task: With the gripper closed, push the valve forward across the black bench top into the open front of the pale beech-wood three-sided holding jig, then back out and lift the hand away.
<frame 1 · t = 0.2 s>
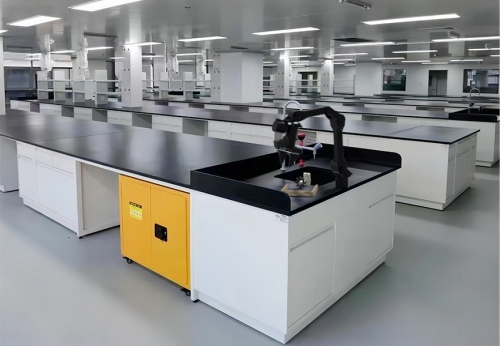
hand: (285, 165, 217), 15 cm above the countertop, tool pointing down, fingers open, 9 cm apart
holding jig: (299, 192, 226), on the countertop
valve: (304, 186, 240), on the countertop
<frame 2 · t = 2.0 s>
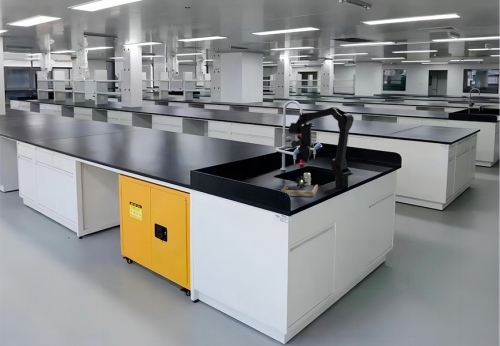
hand: (306, 162, 246), 12 cm above the countertop, tool pointing down, fingers open, 4 cm apart
nothing on the countertop moved.
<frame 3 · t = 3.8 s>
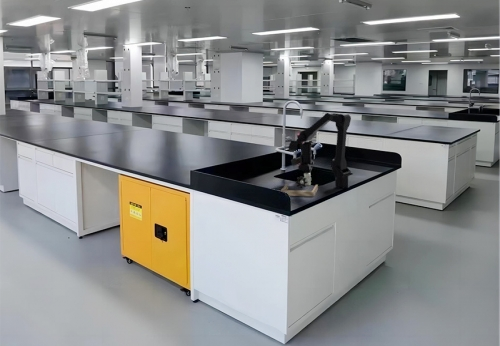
hand: (306, 179, 247), 2 cm above the countertop, tool pointing down, fingers closed
valve: (305, 186, 240), on the countertop, touching gripper
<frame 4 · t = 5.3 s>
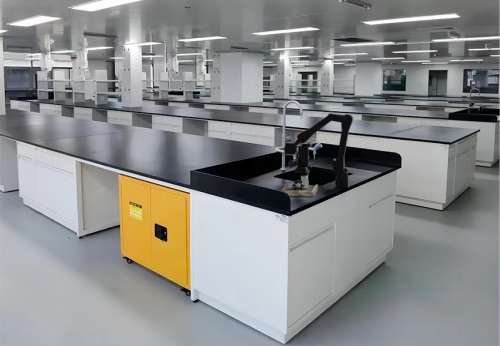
hand: (303, 182, 239), 2 cm above the countertop, tool pointing down, fingers closed
valve: (302, 189, 232), on the countertop, touching gripper
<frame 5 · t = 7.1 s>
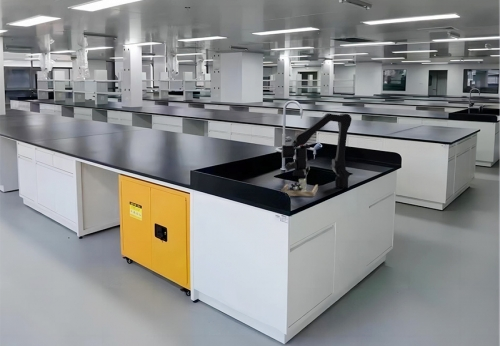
hand: (301, 185, 231), 2 cm above the countertop, tool pointing down, fingers closed
valve: (299, 193, 224), on the countertop, touching gripper
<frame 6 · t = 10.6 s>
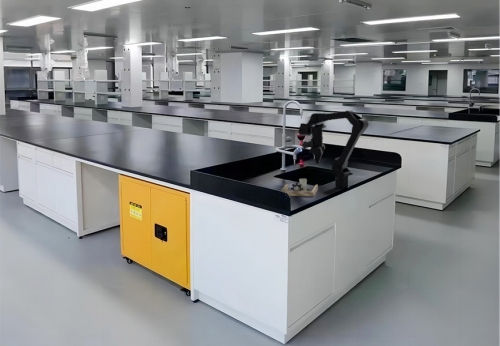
hand: (317, 163, 239), 12 cm above the countertop, tool pointing down, fingers closed
valve: (300, 193, 225), on the countertop
at the end: valve inside the target area on the holding jig (0.7 cm from its centre), point 0.0 cm above the holding jig's base; valve moved 15.7 cm from its start; valve tilted 0° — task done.
